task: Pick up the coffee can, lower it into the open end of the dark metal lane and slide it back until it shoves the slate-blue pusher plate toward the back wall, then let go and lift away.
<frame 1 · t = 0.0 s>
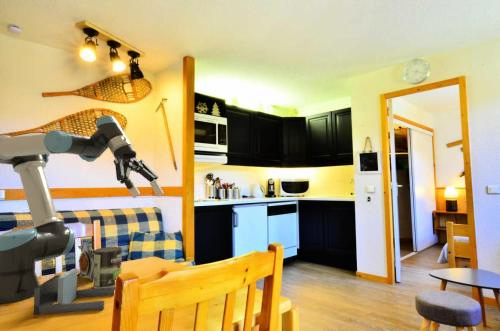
hand: (149, 195, 108), 36 cm above the table, tool tilted 35°, fingers open, 13 cm apart
coffee can: (107, 285, 119), on the table
lane: (77, 303, 99), on the table
pusher plate: (67, 288, 99), point 5 cm above the table, slide at 0.0 cm
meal: (85, 279, 127), on the table
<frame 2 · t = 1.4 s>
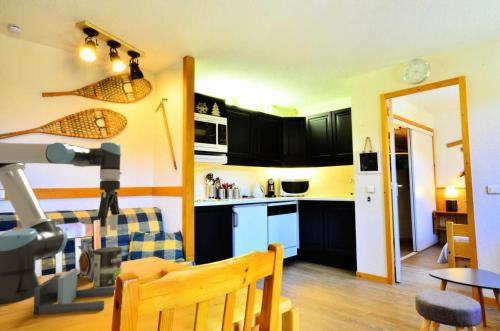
hand: (108, 232, 120), 21 cm above the table, tool pointing down, fingers open, 13 cm apart
nothing on the table moved.
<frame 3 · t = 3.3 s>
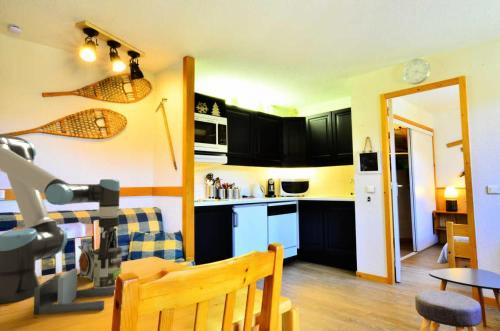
hand: (107, 272, 119), 5 cm above the table, tool pointing down, fingers closed on coffee can, 10 cm apart
coffee can: (107, 285, 119), on the table, touching gripper
everything else where it was.
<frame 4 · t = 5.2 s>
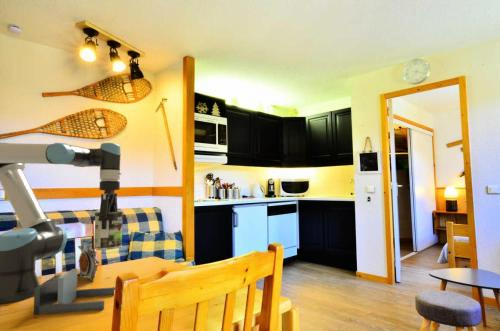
hand: (108, 235, 120), 20 cm above the table, tool pointing down, fingers closed on coffee can, 10 cm apart
coffee can: (108, 247, 120), point 15 cm above the table, touching gripper
everything else where it was.
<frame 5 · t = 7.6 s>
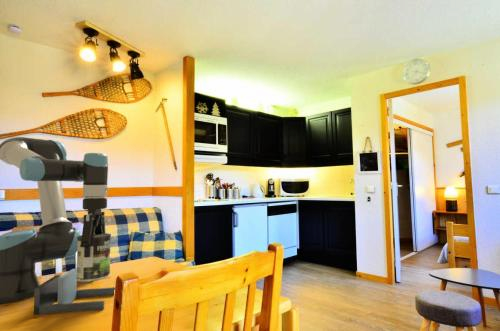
hand: (93, 263, 101), 13 cm above the table, tool pointing down, fingers closed on coffee can, 10 cm apart
coffee can: (93, 277, 101), point 8 cm above the table, touching gripper
everything else where it was.
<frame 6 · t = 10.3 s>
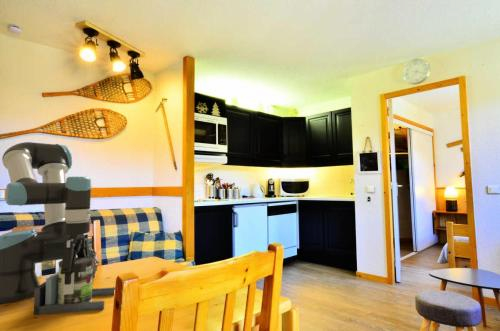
hand: (75, 288, 100), 5 cm above the table, tool pointing down, fingers closed on coffee can, 10 cm apart
coffee can: (75, 303, 99), resting in lane, touching gripper
pusher plate: (56, 289, 98), point 5 cm above the table, slide at 3.5 cm
everything else where it was.
when the fingers open (5 cm above the table, at t = 11.6 s): coffee can stays where it is, resting in lane.
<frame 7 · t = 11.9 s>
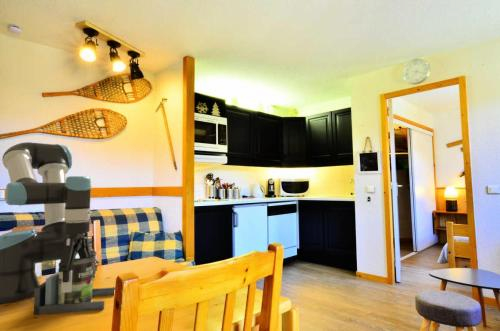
hand: (75, 285, 100), 6 cm above the table, tool pointing down, fingers open, 13 cm apart
coffee can: (75, 304, 99), resting in lane
everything else where it was.
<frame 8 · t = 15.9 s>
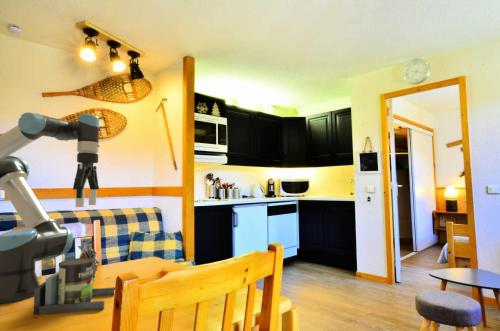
hand: (86, 206, 118), 32 cm above the table, tool pointing down, fingers open, 13 cm apart
nothing on the table moved.
at the end: coffee can inside the target area (0.9 cm from its centre), resting in lane; pusher plate slide at 3.6 cm; coffee can tilted 0° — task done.
